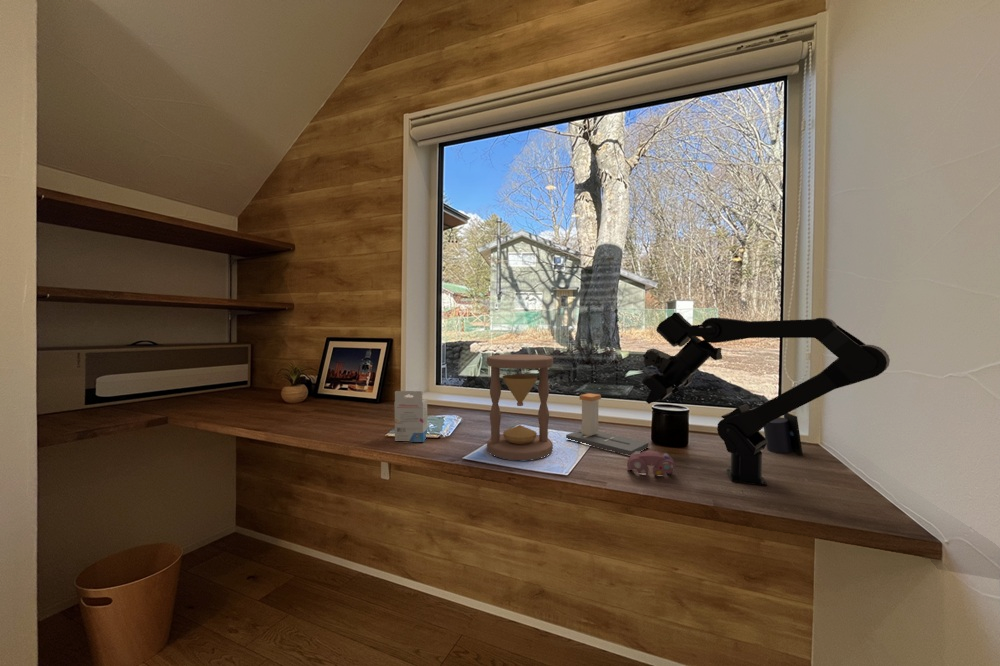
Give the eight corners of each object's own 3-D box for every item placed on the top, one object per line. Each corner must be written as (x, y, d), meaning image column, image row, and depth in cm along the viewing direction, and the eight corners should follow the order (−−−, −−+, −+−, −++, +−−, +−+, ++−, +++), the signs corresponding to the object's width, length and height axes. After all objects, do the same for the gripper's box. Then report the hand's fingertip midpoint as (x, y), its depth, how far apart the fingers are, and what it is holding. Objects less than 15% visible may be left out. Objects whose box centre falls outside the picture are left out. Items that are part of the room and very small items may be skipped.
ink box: (428, 438, 113) (428, 388, 113) (423, 443, 108) (423, 391, 108) (400, 437, 114) (400, 387, 114) (394, 442, 109) (393, 390, 109)
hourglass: (551, 441, 111) (552, 354, 110) (553, 462, 93) (554, 360, 93) (491, 439, 112) (491, 354, 112) (482, 460, 95) (482, 359, 94)
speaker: (798, 449, 102) (794, 411, 102) (803, 457, 97) (799, 416, 97) (764, 447, 106) (760, 410, 106) (767, 455, 101) (763, 416, 101)
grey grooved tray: (648, 448, 104) (648, 442, 104) (631, 457, 97) (631, 450, 97) (585, 433, 118) (585, 427, 118) (566, 439, 111) (566, 434, 111)
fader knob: (600, 433, 112) (600, 394, 112) (591, 436, 108) (591, 397, 108) (588, 430, 115) (589, 393, 114) (579, 433, 111) (579, 395, 111)
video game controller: (627, 481, 86) (629, 458, 83) (625, 465, 90) (627, 443, 87) (674, 485, 84) (678, 461, 81) (671, 469, 88) (674, 446, 85)
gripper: (675, 334, 103) (639, 374, 111) (646, 341, 89) (608, 386, 97) (710, 363, 98) (670, 403, 106) (685, 375, 84) (641, 420, 92)
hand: (647, 402), depth 100 cm, fingers closed
